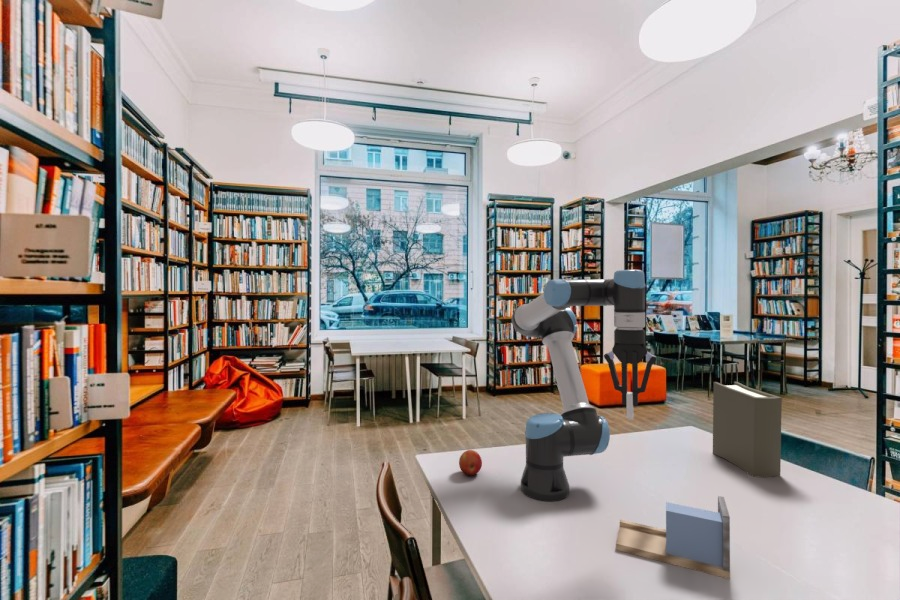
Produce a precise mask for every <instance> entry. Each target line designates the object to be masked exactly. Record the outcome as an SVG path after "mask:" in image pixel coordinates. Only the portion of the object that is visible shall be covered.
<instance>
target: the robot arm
mask: <svg viewBox="0 0 900 600" xmlns="http://www.w3.org/2000/svg"><path fill="white" fill-rule="evenodd" d="M646 286H647V285H646V283H645V272H644V271H643V270H641V269H621V270H616V271H614V274H613V278H610V279H609V278H608V279H607V278H605V279H602V278H600V279H599V278H597V279H595V278H594V279H593V278H592V279H591V278H590V279H589V278H588V279H585V278H584V279H581V278H580V279H577V278H576V279H575V278H574V279H573V278H571V279H570V278H569V279H568V278H566V279H565V278H558V279H550V280H548V281H547V282H546V283H545V286H544V288H543V293H541V294H540V295H538V296H537V297H535V298H534V299H533V300H532V301H530V302H528V303H524V304H521V305H519V306H518V307H516V309H514V311H513V312H512V315H511V323H512V327H513V328H514V330H515V331H516V332H518V334H519V335H522V336H524V337H528V338H540V339H541V343H542V344H543V345H544V346H546V347H547V350H548V352H549V357H550V361H551V364H552V367H553V368H552V369H553V372H554V376H555V380H556V384H557V387H558V392H559V397H560V400H561V404H562V407H563V410H562V412H561V413H555V412H554V413H553V412H551V413H549V412H543V413H538V414H535V415H532V416H530V417H529V418H528V419H527V421H525V422H526V423H525V430H524V431H525V432H524V436H525V467H524V469H523V472H522V474H521V475H522V476H521V478H520V491H521V492H522V493H523V494H524V495H526V496H527V497H529V498H532V499H534V500H538V501H546V502H554V501H555V502H556V501H561V500H564V499H566V498H567V497H568V496H569V495H570V484H569V481H568V477H567V473H566V471H565V468H564V458H565V457H574V456H575V457H576V456H586V455H589V456H593V455H597V454H602V453H604V452H605V451H606V450H607V448H608V447H609V443H610V439H611V437H610V436H611V433H610V431H611V430H610V426H609V423H608V421H607V419H606V418H605V417H604V416H601V415H599V414H598V412H597V409H596V407H594V406H592V405H591V404H590V402H589V398H588V396H587V391H586V387H585V385H584V381H583V378H582V374H581V370H580V366H579V364H578V360H577V357H576V353H575V349H574V347H573V343H572V341H573V339H574V337H575V334H576V332H577V329H578V325H577V324H578V323H577V322H578V321H577V316H576V315H575V313H574V312H573V310H572V309H571V308H570V307H577V306H578V307H582V306H583V307H585V306H586V307H589V306H590V307H591V306H595V307H596V306H599V307H601V306H602V307H603V306H604V307H607V306H608V307H609V306H613V311H614V312H613V326H614V328H615V329H614V331H613V346H612V350H611V351H609V352H605V353H604V355H603V358H604V360H605V361H606V362H607V365H608V368H609V372H610V375H611V376H610V377H611V380H612V385H613V387H614V390H615V391H619V392H620V393H621V404H622V406H626V419H627V420H634V416H635V415H634V407H638V404H639V394H640V393H645V392H646V390H647V389H646V388H647V385H648V382H649V377H650V373H651V371H652V366H653V365H654V364H655V362H656V360H657V356H656V354H655V355H653V354H652V353H650V352H649V351H648V348H647V346H646V330H645V329H643V328H645V327H646ZM614 355H615V356H614ZM615 357H616V358H617V359H618V361H619V362H620V363H621V384H620V380H619V377H618V373H617V369H616V365H615V361H614V359H615ZM644 358H645V361H646V364H645V365H646V367H645V370H644V373H643V377H642V381H641V385H640V386H639V369H638V368H639V364H640V363H641V361H642V360H643V359H644ZM628 364H629V365H631V369H632V370H631V374H632V378H631V380H632V381H631V382H632V383H631V384H632V391H628Z"/></svg>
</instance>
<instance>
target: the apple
mask: <svg viewBox="0 0 900 600" xmlns="http://www.w3.org/2000/svg"><path fill="white" fill-rule="evenodd" d="M482 460H483V459H482V457H481V455H480V454H479V453H478V452H477V451H476V450H472V449H468V450H465V451H464V452H462V454H461V455H460V457H459V460H458V465H459V469H460V470H461V473H463V474H464V475H465V476H468V477H470V476H475V475H476V474H479V472H481V469H482V466H483V461H482Z"/></svg>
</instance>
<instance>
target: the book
mask: <svg viewBox="0 0 900 600" xmlns="http://www.w3.org/2000/svg"><path fill="white" fill-rule="evenodd" d="M712 394H713V396H712V397H713V400H712V401H713V402H712V403H713V404H712V409H713V410H712V454H714V455H715V456H717V457H720V458H722V459H724V460H726V461H728V462H730V463H731V464H733V465H734V466H737V467H738V468H740V469H741V470H743V471H744V472H746V473H747V472H748V474H749V475H750V474H751V476H752V475H753V476H752V477H755V476H759V477H758V478H776V477H780V476H781V460H782V459H781V456H782V455H781V454H782V451H781V450H782V449H781V448H782V410H783V409H782V405H783V403H782V401H783V400H782V399H783V397H780V396H777V395H774V394H770V393H768V392H765V391H761V390H759V389H756V388H752V387H749V386H747V385H744V384H742V383H740V382H738V381H733V384H732V385H730V384H729V385H728V384H727V385H725V384H722V383H720V382H718V381H713V393H712Z"/></svg>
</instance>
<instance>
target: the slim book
mask: <svg viewBox="0 0 900 600" xmlns="http://www.w3.org/2000/svg"><path fill="white" fill-rule="evenodd" d="M665 530H666V553H667V554H671V555H675V556H679V557H683V558H687V559H690V560H694V561H698V562H702V563H706V564H710V565H714V566H718V567H722V568H723V543H722V519H721V514H720V513H719V512H718V511H713V510H709V509H708V510H706V509H704V508H703V509H702V508H697V507H693V506H687V505H683V504H679V503H672V502H667V501H666V502H665Z"/></svg>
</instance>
